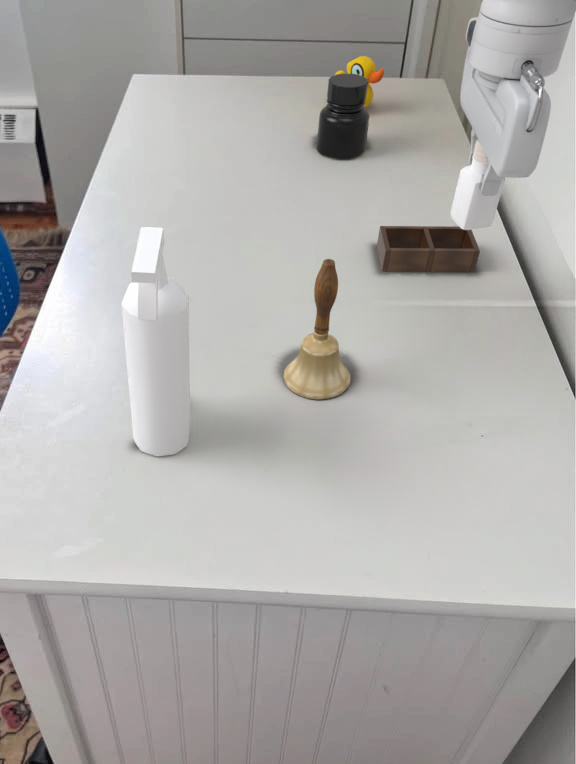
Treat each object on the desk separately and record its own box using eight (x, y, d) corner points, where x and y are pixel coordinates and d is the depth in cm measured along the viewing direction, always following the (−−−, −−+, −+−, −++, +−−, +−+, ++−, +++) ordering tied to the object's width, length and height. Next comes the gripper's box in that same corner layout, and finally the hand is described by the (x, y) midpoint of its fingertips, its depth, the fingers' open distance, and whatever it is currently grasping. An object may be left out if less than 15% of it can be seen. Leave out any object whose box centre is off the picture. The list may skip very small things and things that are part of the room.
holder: (462, 254, 108) (470, 226, 105) (472, 280, 103) (480, 251, 100) (375, 254, 109) (380, 225, 105) (380, 279, 104) (385, 250, 100)
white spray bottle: (199, 398, 87) (191, 199, 68) (188, 470, 79) (176, 268, 60) (144, 395, 87) (122, 197, 69) (127, 467, 79) (97, 265, 61)
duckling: (384, 114, 144) (393, 59, 137) (369, 122, 142) (376, 66, 134) (339, 99, 150) (345, 46, 142) (323, 107, 147) (328, 52, 140)
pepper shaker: (493, 228, 85) (517, 147, 78) (462, 232, 85) (483, 151, 78) (477, 212, 88) (499, 132, 81) (447, 216, 87) (466, 136, 80)
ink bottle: (374, 146, 134) (384, 77, 125) (355, 165, 129) (364, 93, 120) (326, 136, 137) (333, 67, 129) (306, 153, 132) (311, 83, 124)
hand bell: (269, 374, 90) (275, 259, 78) (319, 349, 93) (332, 235, 81) (313, 409, 85) (327, 293, 73) (364, 382, 88) (385, 266, 77)
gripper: (581, 84, 65) (533, 226, 76) (522, 15, 79) (488, 143, 89) (511, 84, 65) (472, 225, 76) (465, 16, 79) (437, 143, 89)
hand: (481, 180), depth 83 cm, fingers closed on pepper shaker, 4 cm apart
